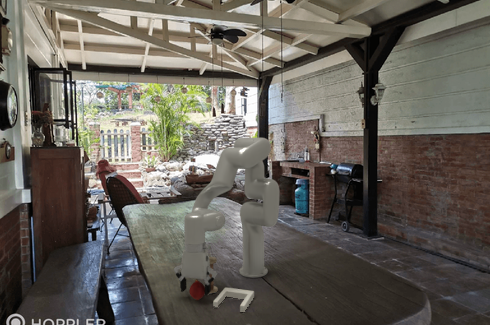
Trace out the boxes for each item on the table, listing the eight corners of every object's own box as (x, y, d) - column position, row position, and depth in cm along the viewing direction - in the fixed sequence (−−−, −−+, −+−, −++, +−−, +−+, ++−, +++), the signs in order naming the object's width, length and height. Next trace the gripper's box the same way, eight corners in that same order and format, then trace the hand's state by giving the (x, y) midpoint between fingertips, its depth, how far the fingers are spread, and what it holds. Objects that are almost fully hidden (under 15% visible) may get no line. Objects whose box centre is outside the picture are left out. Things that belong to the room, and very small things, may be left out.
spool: (206, 287, 140) (205, 255, 139) (220, 289, 138) (219, 257, 137) (199, 293, 134) (199, 261, 133) (214, 295, 132) (213, 262, 131)
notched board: (225, 293, 134) (225, 287, 134) (254, 297, 130) (254, 291, 130) (213, 308, 123) (213, 301, 122) (244, 313, 119) (244, 306, 119)
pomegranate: (206, 296, 132) (205, 275, 131) (204, 303, 126) (204, 282, 125) (190, 296, 132) (190, 276, 131) (188, 304, 126) (188, 282, 125)
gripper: (220, 246, 128) (220, 291, 129) (178, 241, 133) (179, 285, 135) (212, 252, 121) (213, 300, 122) (168, 247, 126) (169, 293, 127)
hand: (195, 292), depth 128 cm, fingers open, 9 cm apart
